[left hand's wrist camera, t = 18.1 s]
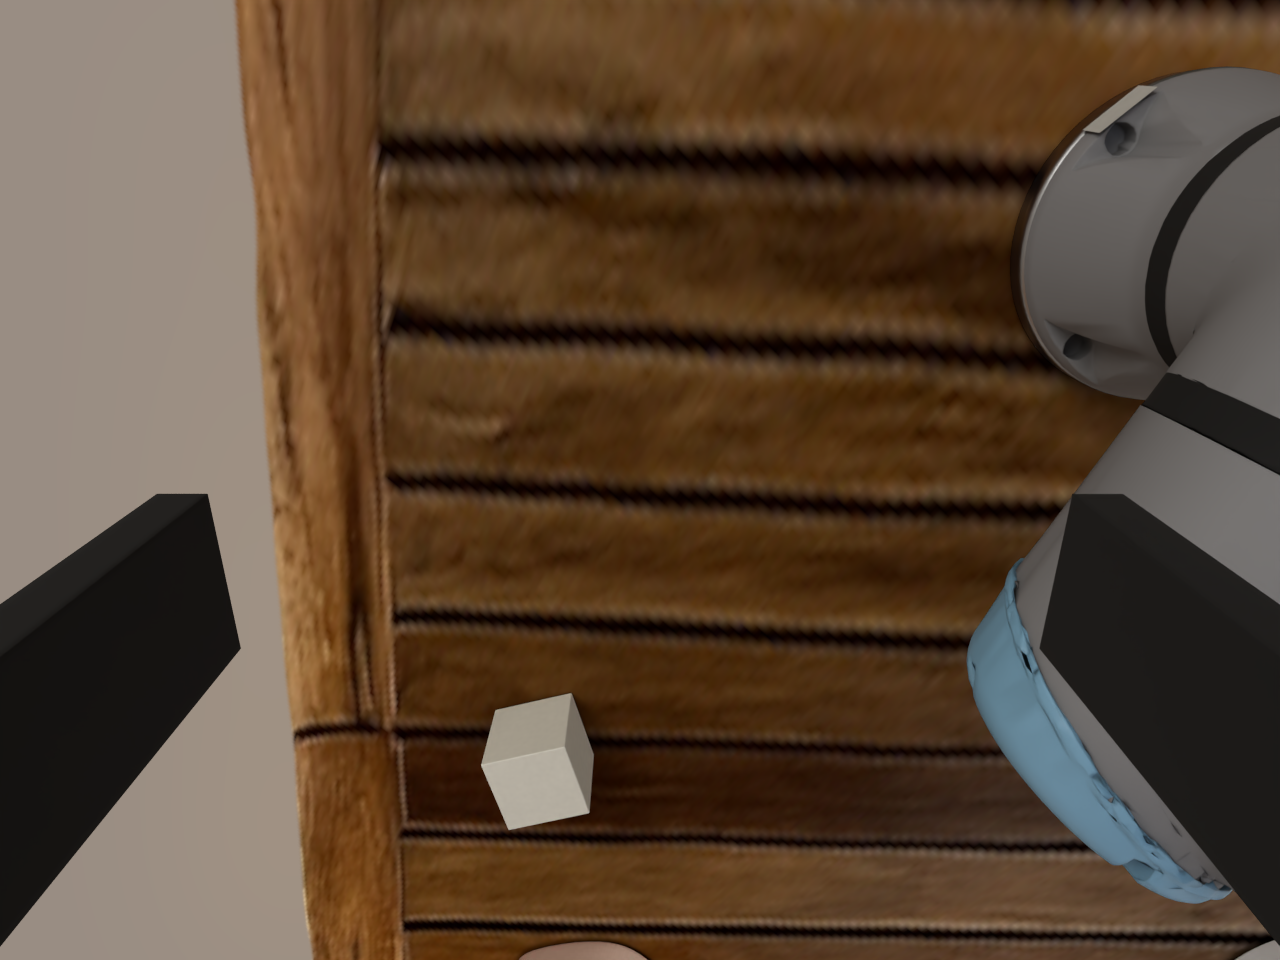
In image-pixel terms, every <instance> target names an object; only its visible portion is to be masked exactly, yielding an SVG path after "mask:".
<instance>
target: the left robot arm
mask: <svg viewBox="0 0 1280 960" xmlns="http://www.w3.org/2000/svg"><path fill="white" fill-rule="evenodd" d="M1010 277H1011V288H1012V294H1013V299H1014V304H1015V307H1016V310H1017V314H1018V316H1019V319H1020V321H1021V323H1022V326H1023V328H1024V330H1025V332H1026V333H1027V335H1028V337H1029V339H1030V340H1031V341H1032V343H1033V344H1034V346H1035V347H1036V348H1037V350H1038V351H1039V352H1040V353H1041V354H1042V355H1043V356H1044V357H1045V358H1046V359H1047V360H1048V361H1049V362H1050V363H1051V364H1053V365H1054V366H1055V367H1056V368H1058V369H1059V370H1061V371H1062V372H1064V373H1065V374H1067V375H1068V376H1070V377H1072V378H1074V379H1076V380H1078V381H1080V382H1082V383H1084V384H1086V385H1088V386H1090V387H1092V388H1094V389H1097V390H1099V391H1102V392H1105V393H1108V394H1112V395H1116V396H1120V397H1127V398H1133V399H1140V400H1145V402H1144V403H1143V404H1142V405H1143V406H1141V405H1140V406H1139V408H1138V409H1137V410H1136V412H1135V413H1134V414H1133V416H1132V417H1131V418H1130V420H1129V421H1128V422H1127V424H1126V425H1125V426H1124V428H1123V429H1122V430H1121V432H1120V433H1119V434H1118V436H1117V437H1116V438H1115V440H1114V441H1113V442H1112V444H1111V445H1110V446H1109V448H1108V449H1107V450H1106V452H1105V453H1104V454H1103V456H1102V457H1101V458H1100V460H1099V461H1098V462H1097V464H1096V465H1095V466H1094V468H1093V469H1092V470H1091V472H1090V473H1089V474H1088V476H1087V477H1086V478H1085V480H1084V481H1083V482H1082V484H1081V485H1080V486H1079V488H1078V489H1077V490H1076V492H1075V493H1074V494H1072V497H1071V498H1070V500H1069V501H1068V502H1067V504H1066V505H1065V506H1064V508H1063V509H1062V510H1061V512H1060V513H1059V514H1058V516H1057V517H1056V518H1055V520H1054V521H1053V522H1052V524H1051V525H1050V526H1049V528H1048V529H1047V530H1046V532H1045V533H1044V534H1043V536H1042V537H1041V538H1040V539H1039V541H1038V542H1037V543H1036V544H1035V546H1034V547H1033V548H1032V550H1031V551H1030V552H1029V553H1028V555H1027V556H1026V557H1025V558H1021V559H1019V560H1018V561H1017V562H1016V563H1015V564H1014V566H1013V567H1012V568H1011V570H1010V571H1009V572H1008V575H1007V578H1006V582H1005V586H1004V588H1003V589H1002V591H1001V592H1000V594H999V596H998V597H997V599H996V600H995V602H994V603H993V605H992V606H991V608H990V609H989V611H988V613H987V614H986V616H985V617H984V619H983V620H982V621H981V623H980V624H979V626H978V627H977V629H976V630H975V632H974V634H973V636H972V638H971V641H970V644H969V648H968V653H967V669H968V675H969V681H970V684H971V686H972V688H973V696H974V699H975V702H976V705H977V707H978V710H979V712H980V714H981V716H982V718H983V720H984V722H985V724H986V726H987V727H988V729H989V731H990V733H991V734H992V736H993V738H994V739H995V741H996V743H997V744H998V746H999V747H1000V749H1001V750H1002V752H1003V753H1004V754H1005V756H1006V757H1007V759H1008V760H1009V762H1010V763H1011V764H1012V766H1013V767H1014V768H1015V769H1016V771H1017V772H1018V773H1019V775H1020V776H1021V777H1022V778H1023V780H1024V781H1025V782H1026V783H1027V784H1028V786H1029V787H1030V788H1031V789H1032V790H1033V791H1034V793H1035V794H1036V795H1037V796H1038V797H1039V798H1040V800H1041V801H1042V802H1043V803H1044V804H1045V805H1046V806H1047V807H1048V808H1049V809H1050V810H1051V811H1052V812H1053V813H1054V815H1055V816H1056V817H1057V818H1058V819H1059V820H1060V821H1061V822H1062V823H1063V824H1064V825H1065V826H1066V827H1067V828H1068V829H1069V830H1070V831H1072V832H1073V833H1074V834H1075V835H1076V836H1077V837H1078V838H1079V839H1080V840H1081V841H1083V842H1084V843H1085V844H1086V845H1087V846H1088V847H1089V848H1091V849H1092V850H1093V851H1094V852H1096V853H1097V854H1098V855H1099V856H1101V857H1102V858H1103V859H1105V860H1106V861H1107V862H1109V863H1110V864H1112V865H1123V866H1124V867H1125V868H1126V870H1127V871H1128V872H1129V873H1130V874H1131V876H1132V877H1133V878H1134V879H1135V880H1136V882H1137V883H1139V884H1140V885H1142V886H1144V887H1146V888H1147V889H1149V890H1151V891H1153V892H1155V893H1157V894H1159V895H1161V896H1163V897H1166V898H1169V899H1172V900H1175V901H1179V902H1186V903H1194V904H1196V903H1202V902H1205V901H1208V900H1210V899H1212V900H1220V899H1223V898H1224V897H1226V896H1227V895H1228V894H1230V893H1231V891H1232V890H1234V891H1235V892H1236V893H1237V894H1238V895H1239V897H1240V898H1241V899H1242V900H1243V902H1244V903H1245V904H1246V905H1247V906H1248V908H1249V909H1250V910H1251V911H1252V913H1253V914H1254V915H1255V916H1256V918H1257V919H1258V920H1259V921H1260V923H1261V924H1262V925H1263V926H1264V928H1265V929H1266V930H1267V931H1268V933H1269V934H1270V935H1271V936H1272V937H1273V939H1274V940H1275V941H1276V942H1277V944H1278V945H1279V946H1280V75H1278V74H1275V73H1271V72H1266V71H1261V70H1255V69H1249V68H1242V67H1213V68H1205V69H1198V70H1192V71H1185V72H1179V73H1173V74H1169V75H1165V76H1162V77H1158V78H1155V79H1152V80H1149V81H1147V82H1144V83H1141V84H1139V85H1137V86H1135V87H1132V88H1130V89H1128V90H1126V91H1124V92H1122V93H1121V94H1119V95H1117V96H1115V97H1114V98H1112V99H1110V100H1109V101H1107V102H1106V103H1104V104H1103V105H1102V106H1100V107H1099V108H1097V109H1096V110H1094V111H1093V112H1092V113H1091V114H1090V115H1088V116H1087V117H1086V118H1085V119H1084V120H1082V121H1081V122H1080V123H1079V124H1078V125H1077V126H1076V127H1075V128H1074V129H1073V130H1072V131H1071V132H1070V133H1069V134H1068V135H1067V136H1066V137H1065V138H1064V139H1063V140H1062V141H1061V143H1060V144H1059V145H1058V146H1057V147H1056V148H1055V150H1054V151H1053V152H1052V154H1051V155H1050V156H1049V158H1048V159H1047V161H1046V162H1045V163H1044V165H1043V166H1042V168H1041V170H1040V171H1039V173H1038V175H1037V176H1036V178H1035V180H1034V182H1033V183H1032V185H1031V187H1030V189H1029V191H1028V193H1027V196H1026V198H1025V201H1024V203H1023V205H1022V208H1021V210H1020V214H1019V217H1018V220H1017V223H1016V227H1015V232H1014V236H1013V241H1012V249H1011V257H1010ZM240 649H241V647H240V643H239V638H238V634H237V629H236V624H235V620H234V615H233V610H232V606H231V601H230V596H229V592H228V587H227V582H226V578H225V573H224V568H223V564H222V559H221V554H220V550H219V545H218V540H217V536H216V531H215V526H214V522H213V517H212V512H211V508H210V503H209V498H208V494H156V495H155V496H153V497H152V498H151V499H149V500H148V501H146V502H145V503H143V504H142V505H141V506H139V507H138V508H136V509H135V510H134V511H132V512H131V513H129V514H128V515H126V516H125V517H124V518H122V519H121V520H119V521H118V522H116V523H115V524H114V525H112V526H111V527H109V528H108V529H107V530H105V531H104V532H102V533H101V534H99V535H98V536H97V537H95V538H94V539H92V540H91V541H89V542H88V543H87V544H85V545H84V546H82V547H81V548H80V549H78V550H77V551H75V552H74V553H73V554H71V555H70V556H68V557H67V558H65V559H64V560H62V561H61V562H60V563H58V564H57V565H55V566H54V567H53V568H51V569H50V570H48V571H47V572H45V573H44V574H43V575H41V576H40V577H38V578H37V579H36V580H34V581H33V582H31V583H30V584H28V585H27V586H26V587H24V588H23V589H21V590H20V591H18V592H17V593H16V594H14V595H13V596H11V597H10V598H9V599H7V600H6V601H4V602H3V603H1V604H0V946H1V945H2V944H3V942H4V941H5V940H6V939H7V937H8V936H9V935H10V934H11V933H12V931H13V930H14V929H15V928H16V926H17V925H18V924H19V923H20V921H21V920H22V919H23V918H24V916H25V915H26V914H27V913H28V911H29V910H30V909H31V908H32V906H33V905H34V904H35V903H36V902H37V900H38V899H39V898H40V896H41V895H42V894H43V893H44V892H45V890H46V889H47V888H48V887H49V885H50V884H51V883H52V882H53V880H54V879H55V878H56V877H57V876H58V874H59V873H60V872H61V871H62V869H63V868H64V867H65V866H66V864H67V863H68V862H69V861H70V859H71V858H72V857H73V856H74V854H75V853H76V852H77V851H78V850H79V848H80V847H81V846H82V845H83V843H84V842H85V841H86V840H87V838H88V837H89V836H90V835H91V833H92V832H93V831H94V830H95V828H96V827H97V826H98V825H99V823H100V822H101V821H102V820H103V819H104V817H105V816H106V815H107V814H108V812H109V811H110V810H111V809H112V807H113V806H114V805H115V804H116V802H117V801H118V800H119V799H120V797H121V796H122V795H123V794H124V793H125V791H126V790H127V789H128V788H129V786H130V785H131V784H132V783H133V781H134V780H135V779H136V778H137V776H138V775H139V774H140V773H141V771H142V770H143V769H144V768H145V767H146V765H147V764H148V763H149V761H150V760H151V759H152V758H153V757H154V755H155V754H156V753H157V752H158V750H159V749H160V748H161V747H162V745H163V744H164V743H165V742H166V740H167V739H168V738H169V737H170V736H171V734H172V733H173V732H174V731H175V729H176V728H177V727H178V726H179V724H180V723H181V722H182V721H183V719H184V718H185V717H186V716H187V714H188V713H189V712H190V711H191V709H192V708H193V707H194V706H195V705H196V703H197V702H198V701H199V700H200V698H201V697H202V696H203V695H204V693H205V692H206V691H207V690H208V688H209V687H210V686H211V685H212V683H213V682H214V681H215V680H216V679H217V677H218V676H219V675H220V674H221V672H222V671H223V670H224V669H225V667H226V666H227V665H228V664H229V662H230V661H231V660H232V659H233V657H234V656H235V655H236V654H237V653H238V651H239V650H240Z"/></svg>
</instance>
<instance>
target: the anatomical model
mask: <svg viewBox="0 0 1280 960" xmlns="http://www.w3.org/2000/svg"><path fill="white" fill-rule="evenodd" d="M519 960H647V959H646V958H645V957H643V956H642V955H640V954H639V953H637V952H635V951H634V950H632V949H630V948H628V947H625V946H622V945H619V944H615V943H610V942H597V941H587V942H573V943H566V944H559V945H553V946H548V947H544V948H540V949H536V950H533V951H530V952H528V953H526V954H525V955H523V956H522V957H521V958H520V959H519Z"/></svg>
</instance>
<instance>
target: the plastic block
mask: <svg viewBox="0 0 1280 960" xmlns="http://www.w3.org/2000/svg"><path fill="white" fill-rule="evenodd" d="M593 759H594V754H593V751H592V748H591V746H590V743H589V740H588V737H587V735H586V732H585V729H584V726H583V723H582V721H581V718H580V715H579V712H578V710H577V707H576V704H575V701H574V698H573V696H572V694H571V693H569V694H565V695H560V696H556V697H552V698H547V699H543V700H538V701H534V702H529V703H525V704H520V705H516V706H511V707H507V708H503V709H498V710H496V711H495V714H494V718H493V722H492V726H491V730H490V733H489V737H488V741H487V745H486V749H485V753H484V756H483V760H482V764H481V766H482V768H483V771H484V773H485V775H486V778H487V780H488V782H489V785H490V787H491V789H492V792H493V794H494V796H495V799H496V801H497V803H498V806H499V808H500V811H501V813H502V815H503V818H504V820H505V822H506V825H507V827H508V829H509V830H511V829H516V828H521V827H525V826H530V825H535V824H540V823H544V822H549V821H554V820H559V819H564V818H568V817H573V816H578V815H583V814H587V813H589V811H590V798H591V785H592V772H593Z"/></svg>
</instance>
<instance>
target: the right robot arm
mask: <svg viewBox="0 0 1280 960" xmlns="http://www.w3.org/2000/svg"><path fill="white" fill-rule="evenodd" d="M1235 960H1280V946H1279V945H1278V944H1277V942H1276V941H1275V940H1273V941H1271V942H1268V943H1265V944H1263V945H1261V946H1258V947H1256V948H1254V949H1252V950H1250V951H1248V952H1246V953H1245V954H1243V955H1241V956H1240V957H1238V958H1236V959H1235Z"/></svg>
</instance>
